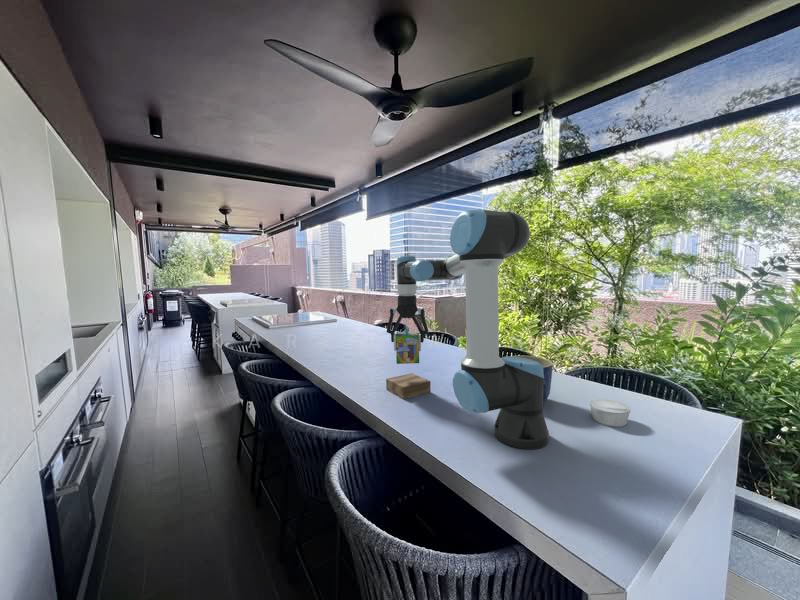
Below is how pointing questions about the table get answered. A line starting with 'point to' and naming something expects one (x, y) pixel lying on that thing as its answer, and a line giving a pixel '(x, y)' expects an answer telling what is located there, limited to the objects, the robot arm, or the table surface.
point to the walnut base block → (408, 386)
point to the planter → (546, 371)
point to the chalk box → (407, 347)
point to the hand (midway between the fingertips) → (407, 350)
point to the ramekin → (609, 412)
